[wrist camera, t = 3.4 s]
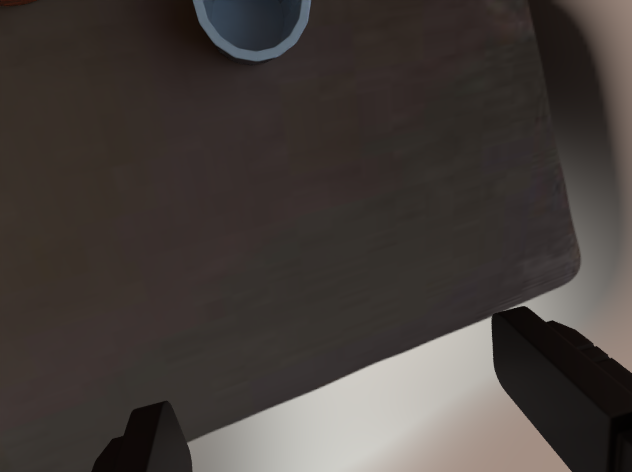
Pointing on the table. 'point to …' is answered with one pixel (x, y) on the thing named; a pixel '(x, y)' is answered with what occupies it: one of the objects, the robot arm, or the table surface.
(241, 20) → the enamel cup
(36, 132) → the table surface
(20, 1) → the flower pot
